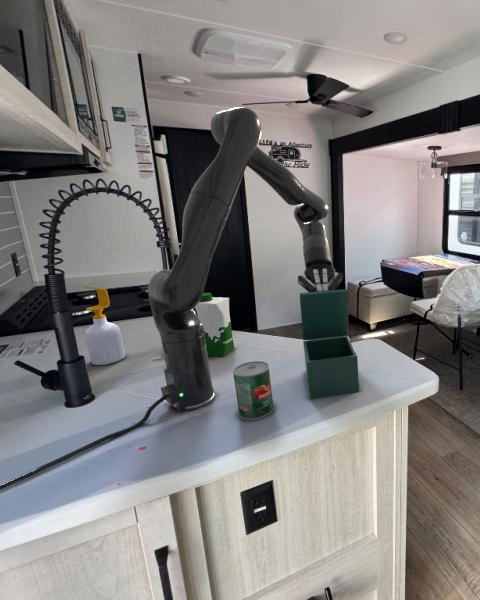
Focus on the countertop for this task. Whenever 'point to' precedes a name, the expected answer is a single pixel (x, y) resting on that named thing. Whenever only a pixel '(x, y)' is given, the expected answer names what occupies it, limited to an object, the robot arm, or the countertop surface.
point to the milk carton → (216, 324)
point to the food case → (331, 366)
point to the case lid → (324, 314)
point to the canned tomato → (253, 390)
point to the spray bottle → (103, 334)
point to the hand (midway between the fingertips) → (324, 305)
